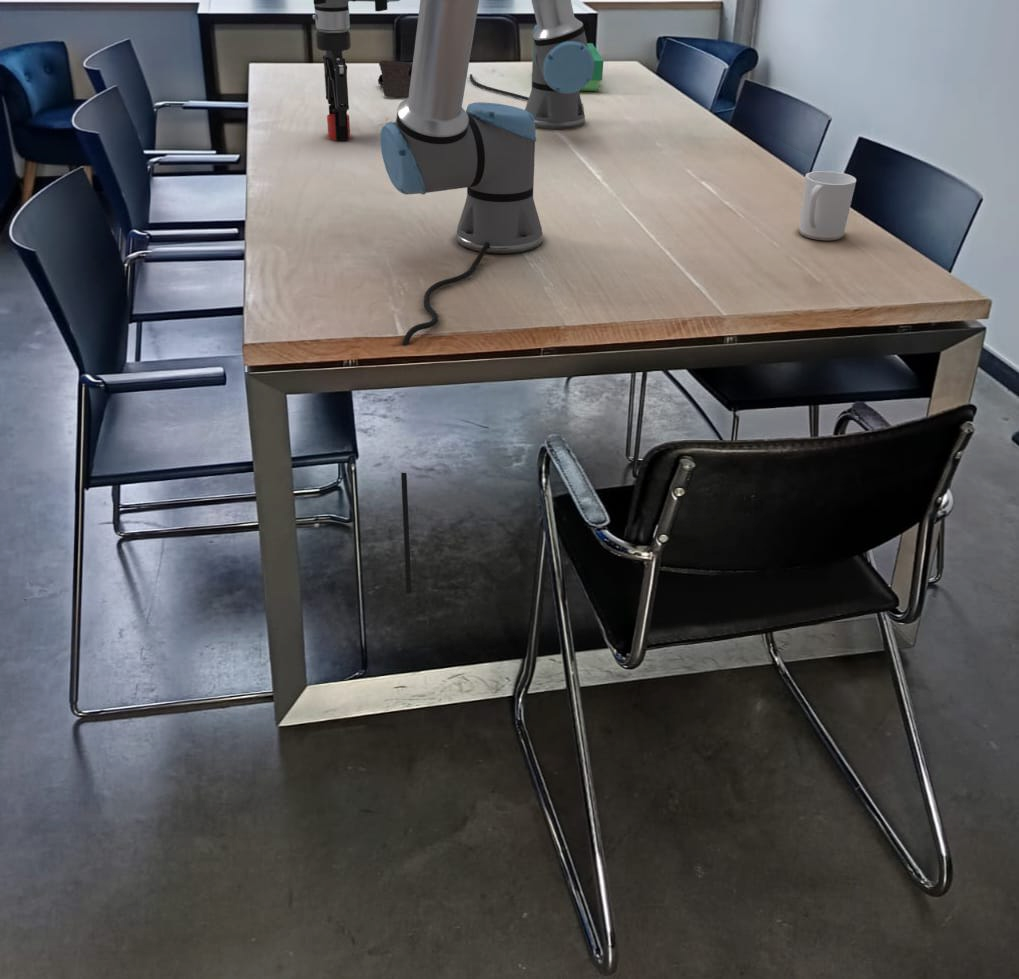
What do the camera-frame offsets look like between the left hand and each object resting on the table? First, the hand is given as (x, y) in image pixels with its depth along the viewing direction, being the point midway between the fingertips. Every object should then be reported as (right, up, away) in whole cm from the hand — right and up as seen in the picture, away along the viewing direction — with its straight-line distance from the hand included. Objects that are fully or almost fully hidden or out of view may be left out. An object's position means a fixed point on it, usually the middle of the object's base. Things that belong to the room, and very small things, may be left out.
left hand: (350, 7), depth 197 cm
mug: (+86, -40, +4) cm, 95 cm away
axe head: (0, +22, +103) cm, 106 cm away
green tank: (+45, +32, +120) cm, 132 cm away
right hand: (-11, -4, +58) cm, 60 cm away
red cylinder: (-11, -5, +59) cm, 60 cm away
